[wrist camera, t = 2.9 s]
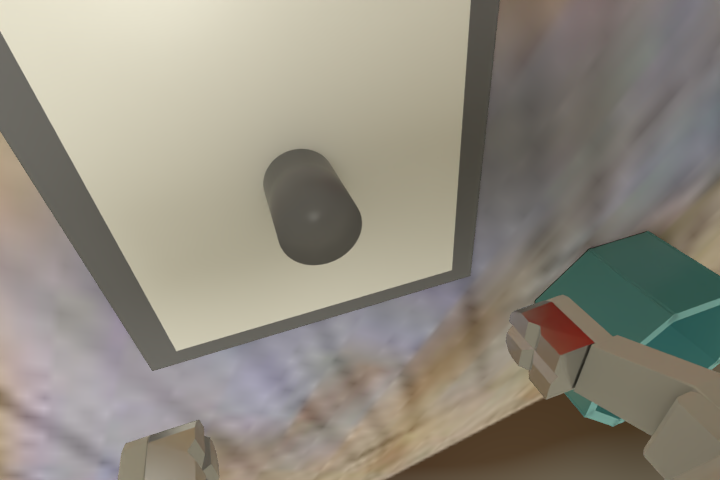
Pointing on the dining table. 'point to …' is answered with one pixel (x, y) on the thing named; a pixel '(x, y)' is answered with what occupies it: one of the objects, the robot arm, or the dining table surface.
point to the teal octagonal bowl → (645, 302)
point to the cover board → (257, 144)
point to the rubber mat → (106, 261)
